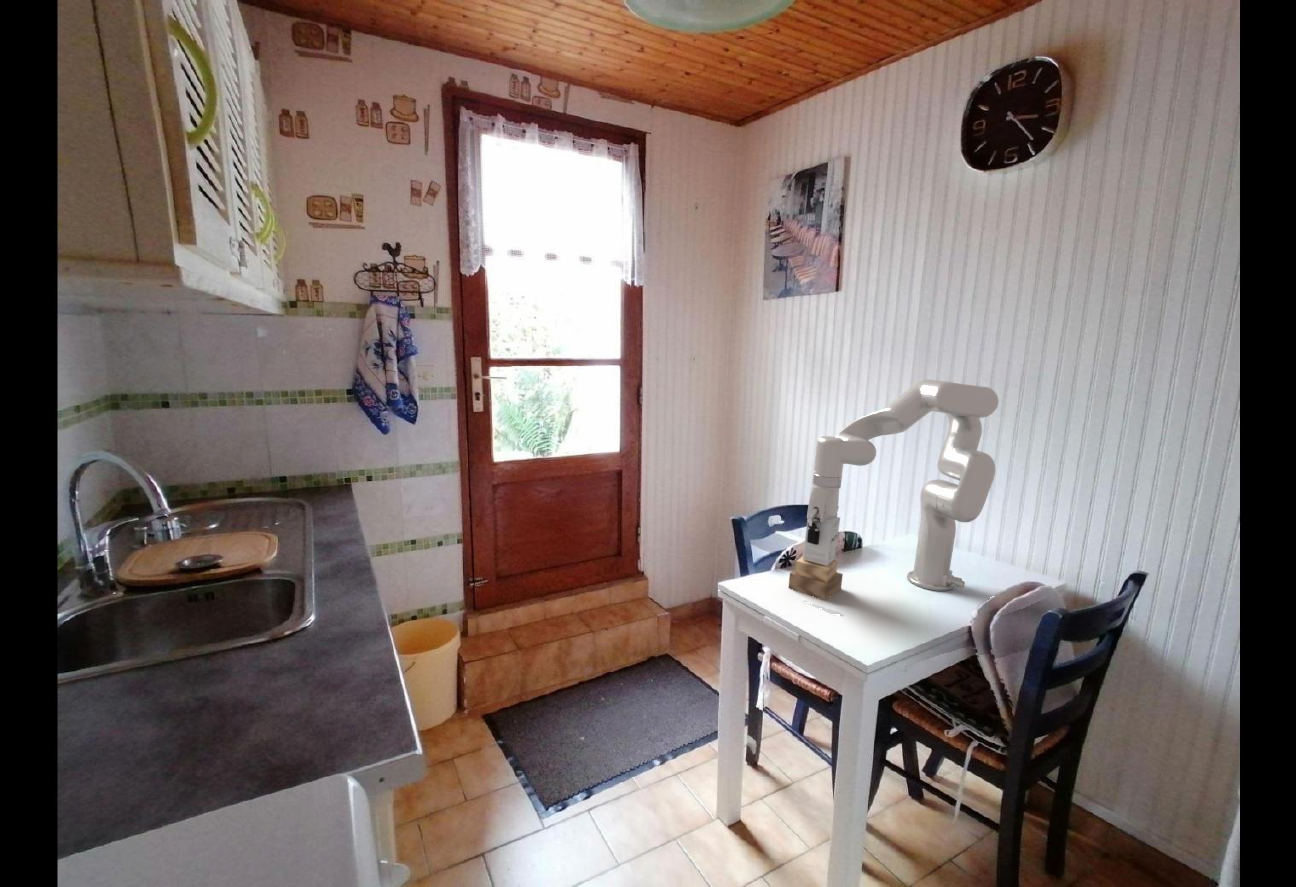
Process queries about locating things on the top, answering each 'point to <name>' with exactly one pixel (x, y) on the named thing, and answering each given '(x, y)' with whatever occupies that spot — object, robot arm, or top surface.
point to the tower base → (815, 585)
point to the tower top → (816, 570)
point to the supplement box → (823, 543)
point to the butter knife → (826, 609)
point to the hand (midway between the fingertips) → (820, 539)
